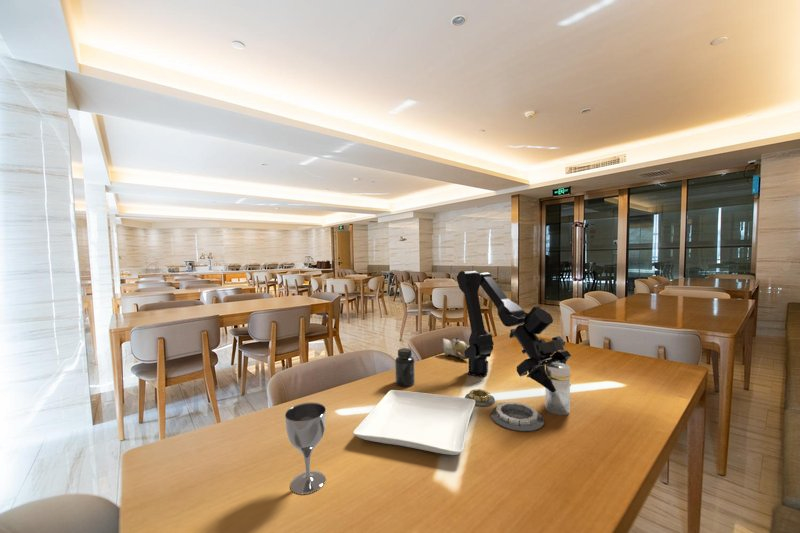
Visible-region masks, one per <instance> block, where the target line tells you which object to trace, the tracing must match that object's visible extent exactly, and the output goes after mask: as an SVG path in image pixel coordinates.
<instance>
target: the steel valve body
mask: <svg viewBox="0 0 800 533" xmlns="http://www.w3.org/2000/svg"><path fill="white" fill-rule="evenodd" d="M545 373H546V374H547V376H548V378H549V379H550V381H551V383H552V384H553V386H554V388H555V390H556V391H555V392H551V391H550V390H548V389H547V388H545V410H546V411H547V412H549V413H551V414H554V415H558V416H566V415H569V414H570V413H571V412H570V411H571V396H570V395H571V386H570V385H571V378H572V377H571V376H572V375H571V366H570V365H568V364H567V363H566V364H564V363H559V362H549V363H546V365H545Z"/></svg>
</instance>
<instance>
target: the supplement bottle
mask: <svg viewBox="0 0 800 533" xmlns="http://www.w3.org/2000/svg"><path fill="white" fill-rule="evenodd" d="M394 364H395V366H394V368H395V371H394V372H395V375H394V376H395V377H394V378H395V379H394V380H395V384H396V386H399V387H400V388H401V387H402V388H407V387H408V388H410V387H411V386H413V385H415V383H416V382H415V381H416V374H415V373H416V372H415V370H416V369H415V358H414V357H413V353H412V349H411V348H406V347H405V348H399V349H397V357H396V358H395V361H394Z"/></svg>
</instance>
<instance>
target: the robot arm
mask: <svg viewBox="0 0 800 533" xmlns="http://www.w3.org/2000/svg"><path fill="white" fill-rule="evenodd" d="M456 281H457V284H458V287H459V288H458V289H460V291H461V292H462V293H463V295H464V298H465V304H466V309H467V314H468V319H469V325H470V331H471V333H470V335H469V338H468V345H469V346H468V348H467V349H466V350H465V351H464V354H465V357H466V358H468V359H467V360H468V371H467V375H470V376H475V377H483V378H484V377H486V375H487V374H488V373H489V361H488V360H487V358H489V357H490V358H491V354H492V352H493V350H494V345H495V344H494V340H493V335H492V333H488V332H487V331H486V329H485V322H484V319H483V314H482V308H481V303H480V297H479V289H480V287H481V288H482V289H483V291H484V293H485V294H486V295H487V296H488V298H489V299H490V300H491V302H492V303H493V305H494V306H495V307H496V309H497V316H498V318H499V319H500V321H501V324H503V325H504V326H505V327H507V328H510V327H511V328H512V327H515V328H513V329H510V334H509V338H510V339H512V338H516V340H517V341H518V343H519V344H520V346H521V348H522V350H521V352H522V354H526V355H527V357H528V358H526V359H523V361H521V363H519V364H518V365H517V366H516V372H517V375H519V377H525V376H526V378H530V379H531V380H534V381H535V382H536V383H539V384H540V385H541V386H542V387H544V388H545V389H546V388H547V389H548V390H550V391H551V392H555V391H556V390H555V388H554V386H553V384H552V383H551V381H550V379H549V378H548V376H547V374H546V373H545V370H546V363H549V362H559V363H564V364H567V362H568V360H569V359H570V358H571V357H572V354H571V353H570V352H569V351H568V350H567V349H565V346H566V345H565V344H566V341H565V340H564V339H563V338H562V337H561V336H560V335H558V336H553V337H551V340H550V341H546V340H545V339H543V338H541V339H540V338H539V337H538V335H541V334H542V333H543V332H544V331H545V330H546V329H547V328H549V326H550V325H551V324H553V322H554V318H553V317H552V315H551V314H550V313H549V312H547V311H546V310H545V309H542V308H540V306H538V305H536V306H533V307H532V308H531V309H530V311H529V312H526V311H525V310H524V309H523V308H522V307H521V306H519V304H518V303H516V302H514V301H512V300H511V299H510V298H508V296H507V295H506V294H505V292H504V291H503V290H502V289H501V287H500V286H499V285H498V284H497V282H496V281H495V279H493V277H492V274H491V273H490V272H487V271H486V272H485V271H484V272H483V271H482V272H477V270H461V271H459V272H458V273H457V275H456ZM571 385H572V384H570V387H571Z"/></svg>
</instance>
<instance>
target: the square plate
mask: <svg viewBox="0 0 800 533" xmlns="http://www.w3.org/2000/svg"><path fill="white" fill-rule="evenodd" d="M475 403H476V401H475V400H474V399H467V398H465V397H458V396H452V395H445V394H435V393H426V392H418V391H409V390H397V389H390V390H389V391H388V392H387V393H385V395H384V396H383V397H382V399H381V400H380V401H379V402H378V403H377V404H376V405H375V406H374V407H373V409H372V410H371V411H370V412H369V413H368V414H367V415H366V416H365V418H364V419H363V420H362V421H361V422H360V423H359V424H358V425H357V426H356V428H355V429H354V430H353V432H352V435H354V436H356V437H358V438H359V439H362V440H365V441H369V442H376V443H381V444H387V445H394V446H401V447H407V448H412V449H416V450H417V449H418V450H421V451H428V452H432V453H436V454H443V455H449V456H455V455H456V456H457V455H459V454H460V453H462V452H464V448H465V445H466V438H467V432H468V427H469V422H470V419H471V416H472V414H473V410H474V409H475V407H476V406H475Z"/></svg>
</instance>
